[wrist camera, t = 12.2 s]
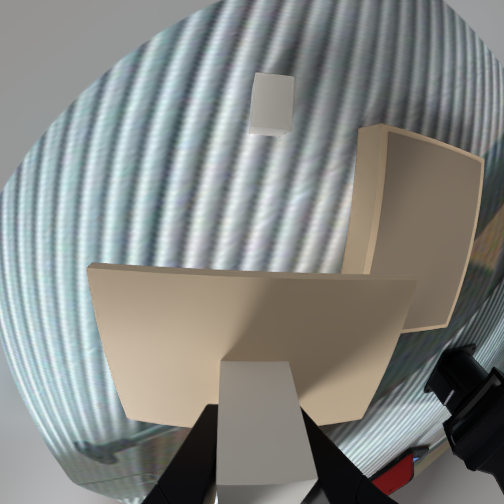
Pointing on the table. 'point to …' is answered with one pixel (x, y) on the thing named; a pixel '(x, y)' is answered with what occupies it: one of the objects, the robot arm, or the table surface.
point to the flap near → (249, 359)
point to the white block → (271, 104)
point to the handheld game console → (398, 471)
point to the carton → (414, 217)
